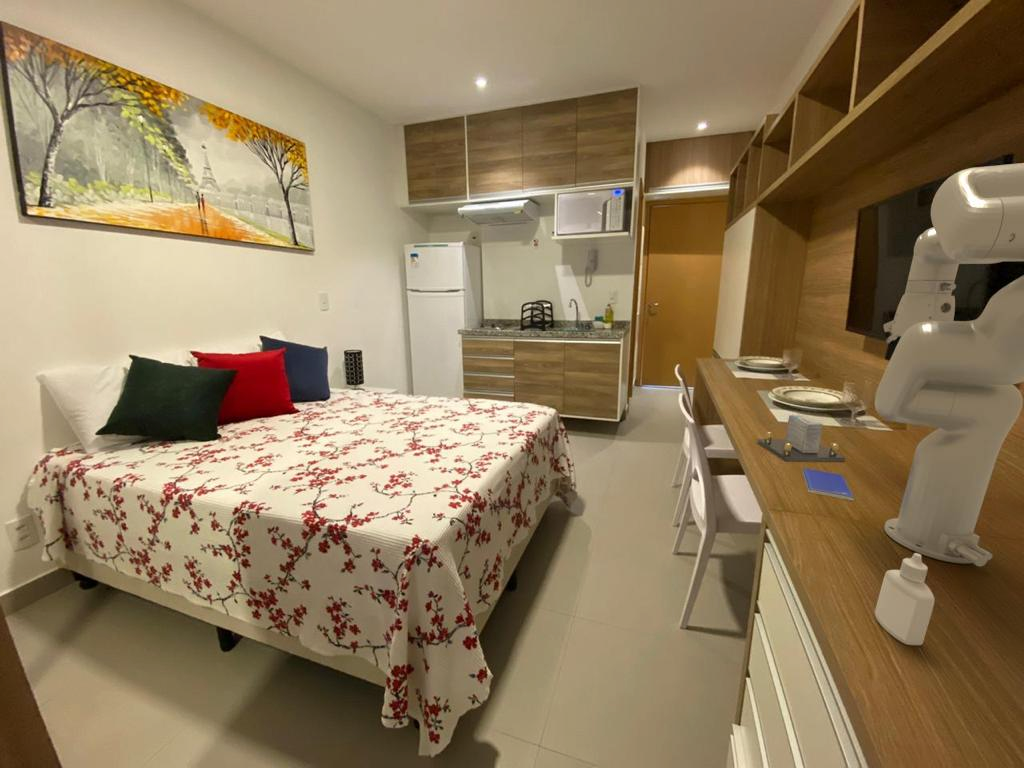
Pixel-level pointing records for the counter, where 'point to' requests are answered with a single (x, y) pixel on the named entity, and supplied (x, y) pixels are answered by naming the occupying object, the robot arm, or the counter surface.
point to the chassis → (792, 454)
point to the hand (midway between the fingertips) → (910, 363)
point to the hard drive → (827, 484)
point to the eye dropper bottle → (906, 602)
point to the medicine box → (804, 433)
